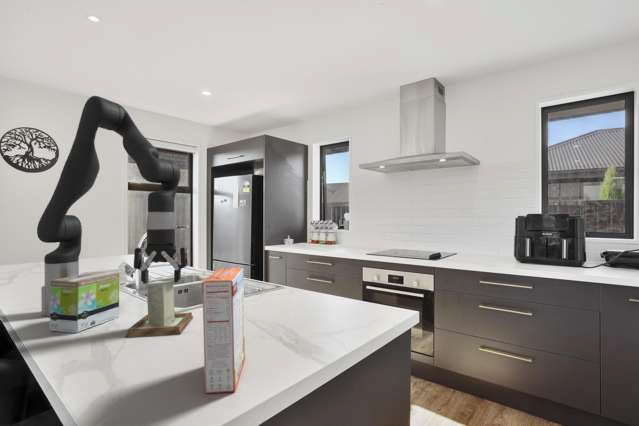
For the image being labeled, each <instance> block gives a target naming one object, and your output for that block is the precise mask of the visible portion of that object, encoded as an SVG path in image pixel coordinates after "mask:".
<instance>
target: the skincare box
mask: <svg viewBox="0 0 639 426" xmlns="http://www.w3.org/2000/svg"><path fill="white" fill-rule="evenodd" d="M174 289H175V288H174V280H173V281H170V280H169V281H168V280H166V281H165V280H155V281H152V282H148V283H147V284H146V301H147V315H148V325H155V326H167V325H169V324H171V323H173V322H175V313H176V312H175V292H174V291H175V290H174Z"/></svg>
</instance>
